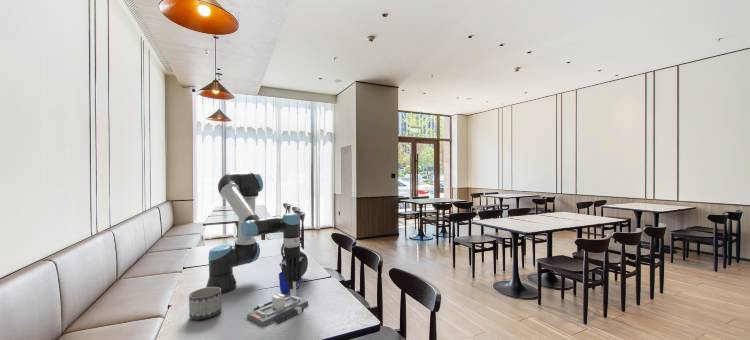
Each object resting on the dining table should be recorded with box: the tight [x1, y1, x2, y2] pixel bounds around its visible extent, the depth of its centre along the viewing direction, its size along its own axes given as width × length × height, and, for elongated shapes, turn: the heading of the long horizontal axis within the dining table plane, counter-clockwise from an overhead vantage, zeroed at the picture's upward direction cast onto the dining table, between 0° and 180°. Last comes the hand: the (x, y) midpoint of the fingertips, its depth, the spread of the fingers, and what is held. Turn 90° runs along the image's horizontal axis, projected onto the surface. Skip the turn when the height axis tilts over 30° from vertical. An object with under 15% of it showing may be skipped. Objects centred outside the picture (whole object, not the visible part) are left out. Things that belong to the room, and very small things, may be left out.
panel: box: [246, 295, 309, 327], centre depth 138 cm, size 12×24×3 cm, turn 143°
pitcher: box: [280, 231, 309, 283], centre depth 176 cm, size 11×19×30 cm, turn 157°
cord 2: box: [275, 306, 304, 324], centre depth 132 cm, size 3×14×2 cm, turn 143°
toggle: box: [271, 292, 286, 309], centre depth 138 cm, size 4×4×5 cm
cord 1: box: [253, 300, 272, 311], centre depth 143 cm, size 3×14×2 cm, turn 143°
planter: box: [188, 286, 223, 321], centre depth 136 cm, size 13×13×10 cm
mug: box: [278, 271, 302, 295], centre depth 160 cm, size 8×12×10 cm
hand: (293, 295), depth 144 cm, fingers closed
